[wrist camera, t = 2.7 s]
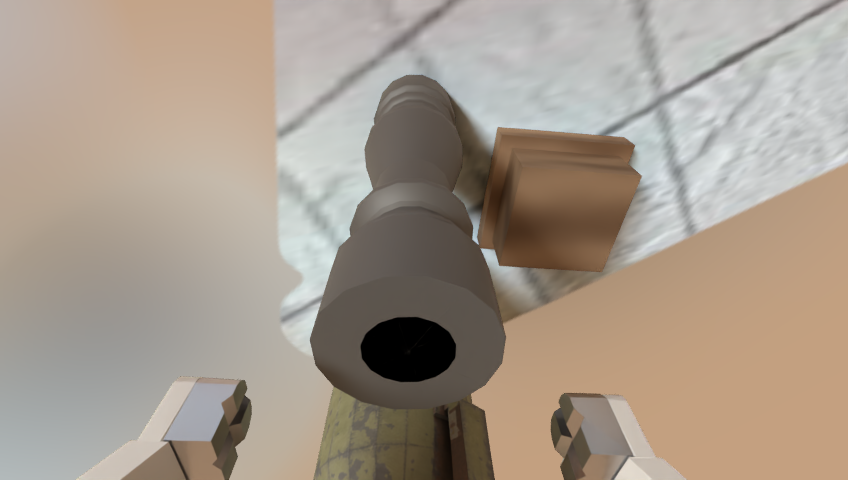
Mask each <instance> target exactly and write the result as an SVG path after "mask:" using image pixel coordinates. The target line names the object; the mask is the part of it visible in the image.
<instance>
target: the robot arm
mask: <svg viewBox="0 0 848 480" xmlns="http://www.w3.org/2000/svg"><path fill="white" fill-rule="evenodd" d="M246 391H247V386H246V382H245V380H234V379H217V378H203V377H181V376H180V377H179V378H178V379H177V380H176V381H175V382H173V384H172V385H171V387H170V389H169V390H168V392H167V393H166V395H165V397H164V398H163V400H162V402H161V403H160V405H159V406H158V408H157V409H156V411H155V412H154V414H153V416H152V417H151V419H150V420H149V422H148V424H147V425H146V427H145V428H144V430H143V432H142V433H141V435H140V436H139V438H138V440H130V441H129V442H127V443H126V444H124V445H123V446H122V447H120V448H119V449H118V450H116V451H115V452H113V453H112V454H111V455H109V456H108V457H107V458H105V459H104V460H102V461H101V462H99V463H98V464H97V465H95V466H94V467H93V468H91V469H90V470H88V471H87V472H86V473H84V474H83V475H82V476H80V477H79V478H77V479H76V480H229V478H230V475H231V473H232V470H233V467H234V465H235V462H236V460H237V457H238V456H237V452H236V449H235V447H236V446H237V445H238V444H239V443H240V442H241V441H242V440H244V439H245V436H246V434H247V431H248V428H249V425H250V420H251V415H252V412H251V411H252V410H251V409H252V408H251V407H252V406H251V402H250V399H248V398H247V397H246V396H245V393H246ZM559 404H560V407H561V408H559V409H558V410H556V411H555V412H554V414H553V416H552V419H551V435H552V440H553V444H554V448H555V450H556V451H557V452H558V453H559V454H560V455H561V456H562V457H563V461H562V464H561V466H560V467H561V471H562V474H563V477H564V480H687V479H686V478H684V477H683V476H682V475H681V474H680V473H679V472H678V471H676V470H675V469H674V468H673V467H672V466H671V465H670V464H668V463H667V462H666V461H665V460H664V459H663V458H657V457H656V456H655V454H654V452H653V450H652V449H651V447H650V445H649V443H648V441H647V439H646V437H645V435H644V433H643V431H642V429H641V427H640V425H639V423H638V422H637V420H636V418H635V416H634V414H633V412H632V410H631V408H630V406H629V404H628V402H627V400H626V399H625V398H624V397H623V396H621V395H601V394H585V393H584V394H583V393H564V394H563V395H561V397H560V400H559Z"/></svg>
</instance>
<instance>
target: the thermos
mask: <svg viewBox="0 0 848 480" xmlns="http://www.w3.org/2000/svg"><path fill="white" fill-rule="evenodd" d="M313 480H495V478H494V472H493V465H492V459H491V452H490V445H489V439H488V432H487V425H486V418H485V411H484V410H482V409H480V408H478V407H477V406H475V405H473V404H472V399H471V394H470V395H468V396H466V397H465V398H463V399H461V400H460V401H456V402H453V403H449V404H445V405H441V406H437V407H434V408H430V409H397V410H394V409H390V408H385V407H381V406H377V405H372V404H368V403H364V402H361V401H359V400H357V399H355V398H353V397H352V396H350V395H348V394H346V393H344V392H343V391H341V390H339V389H337V388H335V387H334V388H333V392H332V396H331V400H330V405H329V409H328V414H327V418H326V423H325V428H324V433H323V437H322V442H321V447H320V451H319V456H318V461H317V466H316V470H315V475H314V479H313Z"/></svg>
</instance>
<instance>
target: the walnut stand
mask: <svg viewBox="0 0 848 480" xmlns="http://www.w3.org/2000/svg"><path fill="white" fill-rule="evenodd" d="M634 147H635V145H634V144H632V143H631V142H630V141H628V140H627V139H626V138H624V137H613V136H601V135H588V134H576V133H563V132H551V131H539V130H526V129H514V128H502V127H498V129H497V134H496V139H495V145H494V150H493V155H492V161H491V166H490V171H489V177H488V182H487V187H486V193H485V198H484V203H483V209H482V214H481V219H480V225H479V230H478V235H477V238H478V242H479V246H480V248H484V249H495V252H496V256H497V259H498V263H499V266H512V267H528V268H545V269H561V270H577V271H594V272H602V270H603V268H604V266H605V263H606V261H607V258H608V256H609V254H610V251H611V249H612V246H613V244H614V242H615V239H616V237H617V234H618V232H619V230H620V227H621V225H622V222H623V220H624V218H625V215H626V213H627V210H628V208H629V206H630V203H631V201H632V198H633V196H634V194H635V191H636V189H637V186H638V184H639V182H640V179H641V177H642V176H641V175H640V174H639V173H638V172H637V171H635V170H634V169H633V168H632V167H631V166H630V165H629V164H628V162H629V160H630V157H631V155H632V152H633V149H634Z"/></svg>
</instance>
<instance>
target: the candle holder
mask: <svg viewBox="0 0 848 480" xmlns="http://www.w3.org/2000/svg"><path fill="white" fill-rule="evenodd" d="M374 124H375V125H374V126H373V127H372V128H371V131H370V134H369V137H368V140H367V143H366V146H365V159H366V168H367V171H368V174H369V177H370V180H371V184H372V187H373V191H372V192H371V193H370V194H369V195H368V196H367V197H366V198H365V199H364V200H362V201H361V202H360V203H359V205H358V206H357V209H356V212H355V215H354V218H353V220H352V223H351V226H350V235H351V237H350V238H349V239H347V240H346V241H345V242H344V243H343V244H342V245H341V246H340V247H339V249H338V252H337V255H336V258H335V261H334V263H333V266H332V269H331V272H330V275H329V279H328V282H327V285H326V288H325V292H324V295H323V298H322V301H321V305H320V308H319V311H318V314H317V318H316V321H315V324H314V327H313V331H312V334H311V337H310V343H311V347H312V351H313V356H314V360H315V364H316V366H317V367H318V369H319V370H320V371H321V372H322V373H323V374H324V376H325V377H326V378H327V379H328V380H329V381H330V382H331V384H332V385H333V386H334V387H335V388H337V389H339V390H341V391H343V392H344V393H346V394H348V395H350V396H352V397H353V398H355V399H357V400H359V401H361V402H364V403H368V404H372V405H377V406H381V407H385V408H390V409H394V410H397V409H430V408H434V407H437V406H441V405H445V404H449V403H453V402H456V401H460V400H461V399H463V398H465V397H466V396H468V395H470V394H471V393H473V392H474V391H476V390H478V389H479V388H481V387H483V386H484V385H486V383H487V382H488V381H489V379H490V378H491V377H492V375H493V374H494V373H495V372H496V370H497V369H498V368H499V366H500V365H501V364H502V359H503V353H504V346H505V340H506V336H505V332H504V328H503V323H502V319H501V315H500V311H499V307H498V303H497V299H496V295H495V291H494V287H493V283H492V279H491V275H490V271H489V268H488V266H487V263H486V261H485V258H484V256H483V254H482V251H481V249H480V246H479V245H478V244H477V243H475V242H474V241H473V240H472V235H473V225H472V222H471V220H470V218H469V215H468V213H467V210H466V208H465V205H464V203H463V202H462V201H460V200H459V199H458V198H457V197H456V196H455V195H454V194H453V193H452V192H453V189H454V186H455V184H456V181H457V178H458V176H459V173H460V170H461V168H462V157H463V146H462V143H461V140H460V138H459V135H458V133H457V130H456V127H455V115H454V111H453V107H452V105H451V102H450V99H449V96H448V94H447V92H446V91H445V90H444V89H443V88H442V87H441V85H440V84H439V83H438V82H437V81H435V80H433V79H430V78H428V77H426V76H423V75H406V76H404V77H402V78H399V79H397V80H395V81H393V82H392V83H391V84H390V85H389V86H388V88H387V89H386V90H385V91H384V92H383V93H382V96H381V99H380V102H379V105H378V108H377V111H376V114H375V117H374Z"/></svg>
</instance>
